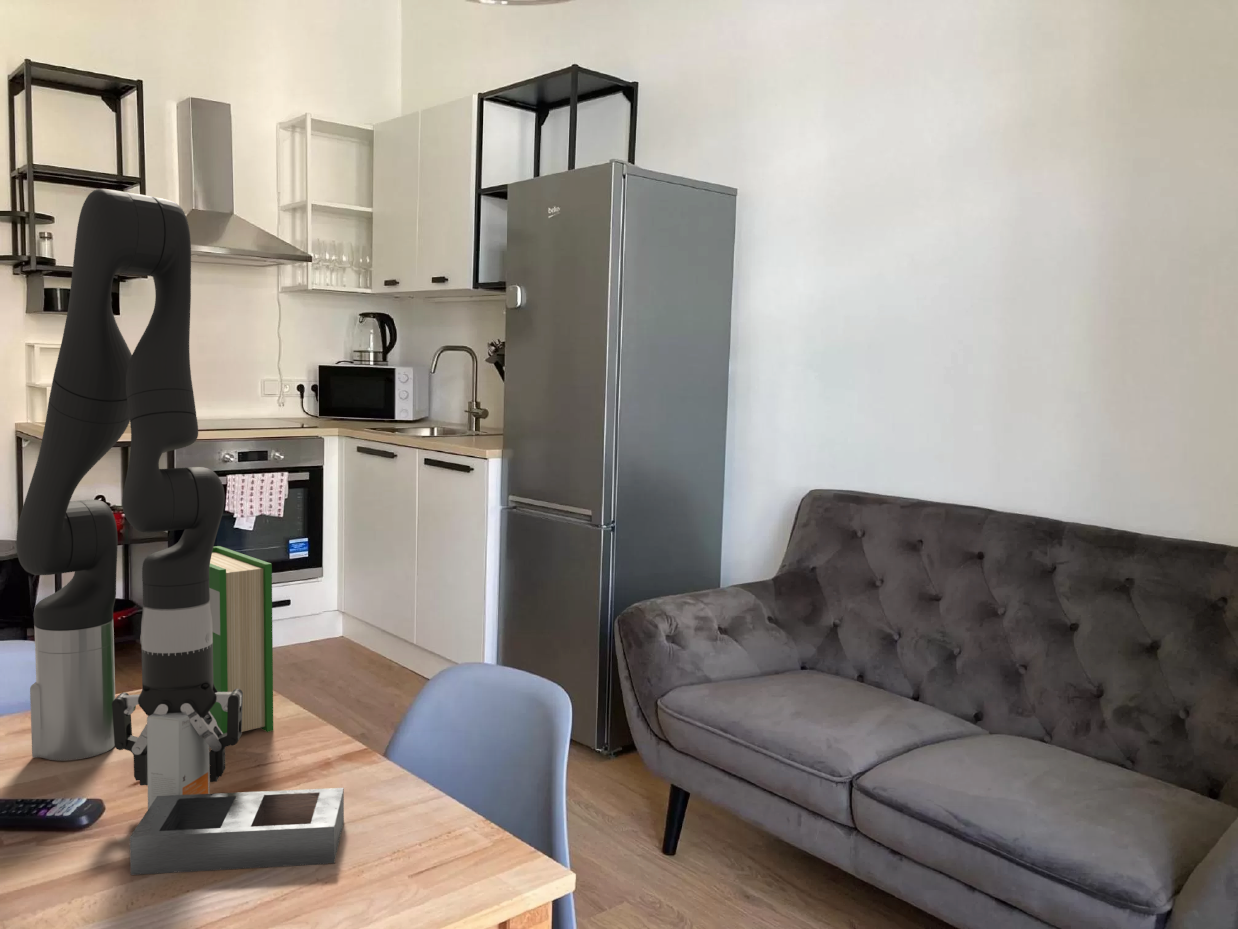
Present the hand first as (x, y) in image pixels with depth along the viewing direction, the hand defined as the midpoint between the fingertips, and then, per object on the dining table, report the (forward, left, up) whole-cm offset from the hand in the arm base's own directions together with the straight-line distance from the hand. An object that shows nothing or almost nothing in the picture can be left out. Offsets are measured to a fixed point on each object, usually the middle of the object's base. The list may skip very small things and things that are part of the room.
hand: (180, 781), depth 119 cm
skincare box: (0, 0, -4) cm, 4 cm away
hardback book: (-2, +31, -4) cm, 31 cm away
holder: (+9, -10, -3) cm, 14 cm away
